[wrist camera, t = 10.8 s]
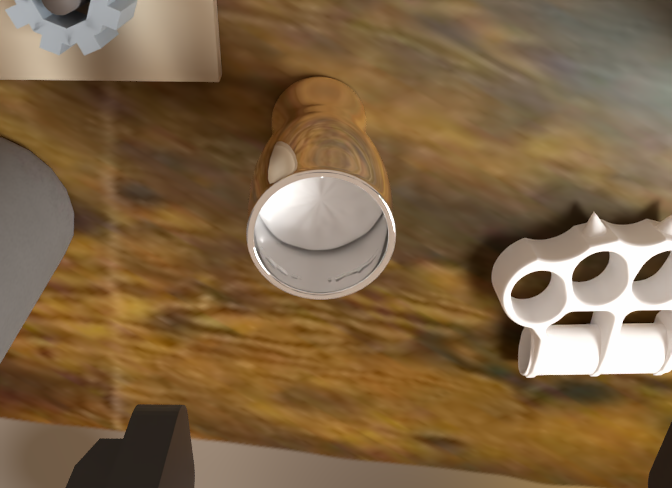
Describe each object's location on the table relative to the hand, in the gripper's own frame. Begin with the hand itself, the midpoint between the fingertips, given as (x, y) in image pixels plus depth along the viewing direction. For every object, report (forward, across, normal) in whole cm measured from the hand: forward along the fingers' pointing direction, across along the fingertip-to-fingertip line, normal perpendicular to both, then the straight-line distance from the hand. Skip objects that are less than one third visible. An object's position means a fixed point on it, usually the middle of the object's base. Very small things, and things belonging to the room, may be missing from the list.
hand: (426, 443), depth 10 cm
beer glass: (+31, +2, +6) cm, 32 cm away
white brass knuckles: (+32, -20, +18) cm, 42 cm away
